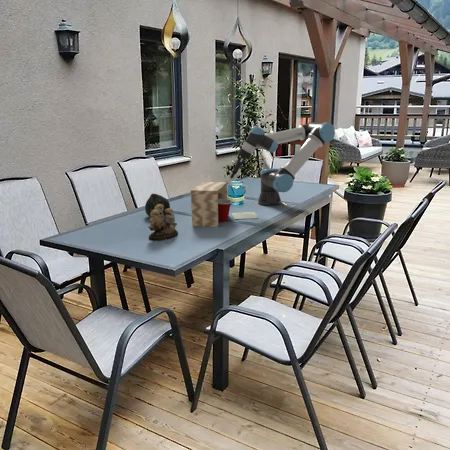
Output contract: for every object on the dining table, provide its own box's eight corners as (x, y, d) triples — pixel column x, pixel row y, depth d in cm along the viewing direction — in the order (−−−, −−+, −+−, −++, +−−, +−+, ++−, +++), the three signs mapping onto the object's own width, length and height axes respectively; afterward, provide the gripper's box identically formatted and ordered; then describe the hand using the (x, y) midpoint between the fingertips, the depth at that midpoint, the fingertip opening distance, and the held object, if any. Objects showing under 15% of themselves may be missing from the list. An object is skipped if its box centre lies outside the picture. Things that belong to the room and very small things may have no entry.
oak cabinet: (227, 215, 267) (227, 182, 262) (217, 226, 243) (216, 190, 238) (204, 214, 271) (203, 181, 265) (192, 225, 246) (190, 190, 241)
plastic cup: (228, 223, 249) (228, 202, 245) (210, 222, 252) (210, 201, 249) (234, 219, 258) (234, 198, 255) (217, 217, 262) (216, 197, 259)
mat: (253, 212, 272) (253, 211, 272) (258, 218, 259) (258, 217, 259) (231, 213, 270) (231, 213, 270) (234, 219, 257) (234, 218, 257)
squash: (177, 205, 271) (161, 186, 270) (168, 212, 257) (150, 192, 256) (162, 219, 277) (146, 201, 276) (152, 226, 263) (135, 207, 262)
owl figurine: (159, 243, 218) (156, 209, 213) (142, 239, 225) (139, 206, 220) (183, 233, 232) (181, 201, 227) (167, 230, 239) (164, 199, 234)
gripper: (241, 145, 280) (225, 174, 285) (240, 149, 256) (222, 180, 261) (252, 151, 280) (235, 180, 285) (252, 155, 256) (233, 187, 261)
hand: (229, 180), depth 273 cm, fingers open, 13 cm apart
